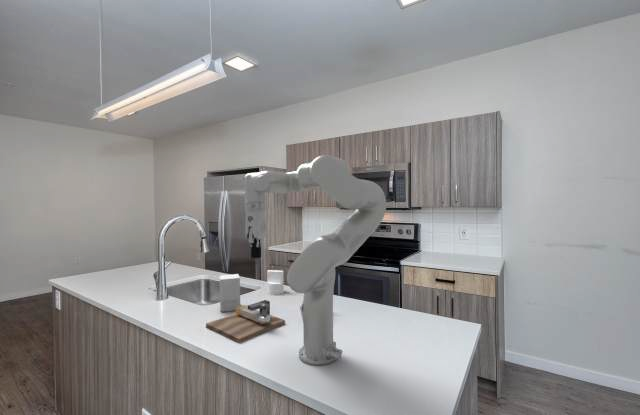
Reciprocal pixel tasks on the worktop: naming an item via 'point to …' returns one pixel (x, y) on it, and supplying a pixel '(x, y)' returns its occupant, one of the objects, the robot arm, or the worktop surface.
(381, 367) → the worktop surface
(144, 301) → the worktop surface
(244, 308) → the link
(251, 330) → the board
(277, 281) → the cylinder with rectangular tab
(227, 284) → the supplement box
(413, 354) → the worktop surface
